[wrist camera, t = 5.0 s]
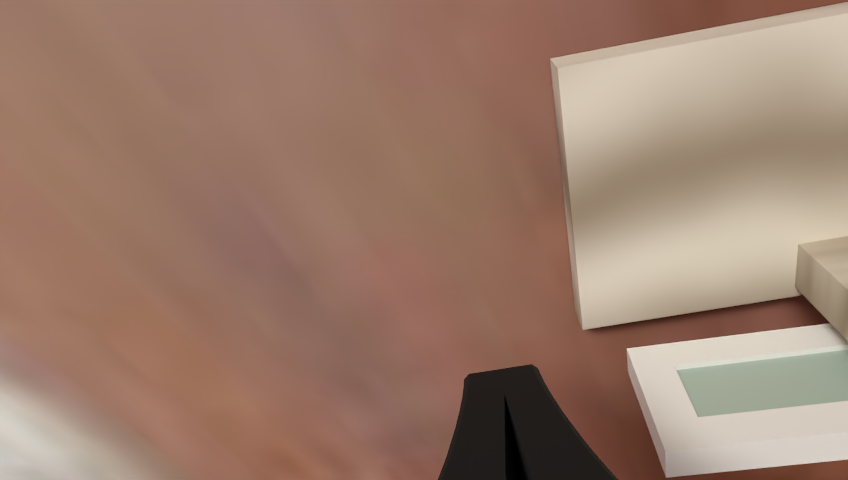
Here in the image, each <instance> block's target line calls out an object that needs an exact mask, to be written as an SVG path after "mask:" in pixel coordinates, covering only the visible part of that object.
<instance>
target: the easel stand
mask: <svg viewBox="0 0 848 480" xmlns="http://www.w3.org/2000/svg"><path fill="white" fill-rule="evenodd" d="M550 64H551V74H552V84H553V94H554V103H555V113H556V123H557V133H558V143H559V153H560V163H561V173H562V183H563V193H564V202H565V212H566V222H567V232H568V242H569V252H570V262H571V272H572V282H573V292H574V301H575V311H576V313H577V316H578V319H579V321H580V324H581V326H582V329H583V330H585V329H591V328H598V327H604V326H610V325H617V324H623V323H629V322H636V321H642V320H648V319H654V318H661V317H667V316H673V315H680V314H686V313H692V312H699V311H705V310H711V309H718V308H724V307H730V306H737V305H743V304H749V303H756V302H762V301H768V300H775V299H781V298H787V297H794V296H800V295H804V296H805V297H806V298H807V299H808V300H809V301H810V303H811V304H812V305H813V306H814V307H815V308H816V309H817V310H818V311H819V312H820V313H821V314H822V315H823V316H824V317H825V318H826V319H827V320H828V321H829V322H830V323H831V324H832V325H833V326H834V327H835V328H836V329H837V331H838V332H839V333H840V334H841V335H842V336H843V337H844V338H845V339H846V340H847V341H848V2H845V3H839V4H834V5H829V6H824V7H818V8H813V9H808V10H803V11H797V12H792V13H787V14H782V15H776V16H771V17H766V18H761V19H755V20H750V21H745V22H740V23H734V24H729V25H724V26H719V27H713V28H708V29H703V30H698V31H693V32H687V33H682V34H677V35H672V36H666V37H661V38H656V39H651V40H645V41H640V42H635V43H630V44H624V45H619V46H614V47H609V48H603V49H598V50H593V51H588V52H582V53H577V54H572V55H567V56H561V57H556V58H551V59H550Z"/></svg>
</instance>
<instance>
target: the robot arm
mask: <svg viewBox="0 0 848 480" xmlns="http://www.w3.org/2000/svg"><path fill="white" fill-rule="evenodd" d="M438 480H618V479H617V478H616V477H615V476H614V475H613V474H612V472H611V471H610V470H609V469H608V468H607V467H606V466H605V465H604V463H603V462H602V461H601V460H600V459H599V458H598V457H597V455H596V454H595V453H594V452H593V451H592V449H591V448H590V447H589V446H588V445H587V443H586V442H585V441H584V439H583V438H582V437H581V436H580V434H579V433H578V432H577V430H576V429H575V428H574V426H573V425H572V424H571V422H570V421H569V420H568V418H567V417H566V416H565V414H564V413H563V411H562V410H561V408H560V407H559V405H558V404H557V402H556V401H555V399H554V398H553V396H552V394H551V393H550V391H549V389H548V388H547V386H546V384H545V382H544V380H543V378H542V376H541V374H540V372H539V370H538V368H537V367H535V366H533V365H532V364H531V365H524V366H518V367H511V368H505V369H499V370H492V371H486V372H479V373H473V374H469V375H468V376H467V377H466V378H465V379H464V390H463V397H462V402H461V407H460V412H459V416H458V420H457V424H456V428H455V431H454V434H453V438H452V441H451V444H450V447H449V451H448V454H447V457H446V460H445V463H444V465H443V468H442V470H441V473H440V476H439V478H438Z"/></svg>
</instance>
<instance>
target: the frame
mask: <svg viewBox="0 0 848 480" xmlns="http://www.w3.org/2000/svg"><path fill="white" fill-rule="evenodd" d="M627 362H628V374H629V376H630V379H631V382H632V385H633V387H634V390H635V393H636V396H637V399H638V401H639V404H640V407H641V410H642V412H643V415H644V418H645V421H646V424H647V426H648V429H649V432H650V435H651V437H652V440H653V443H654V446H655V449H656V451H657V454H658V457H659V460H660V462H661V465H662V468H663V471H664V474H665V476H666V478H667V477H677V476H687V475H697V474H707V473H717V472H727V471H737V470H747V469H757V468H767V467H776V466H786V465H796V464H806V463H816V462H826V461H836V460H846V459H848V341H847V340H846V339H845V338H844V337H843V336H842V335H841V334H840V333H839V332H838V331H837V329H836V328H835V327H834V326H833V325H832V324H831V323H828V324H820V325H812V326H804V327H796V328H788V329H780V330H772V331H764V332H756V333H748V334H740V335H732V336H724V337H716V338H708V339H700V340H692V341H683V342H675V343H667V344H659V345H651V346H643V347H635V348H627Z"/></svg>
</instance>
